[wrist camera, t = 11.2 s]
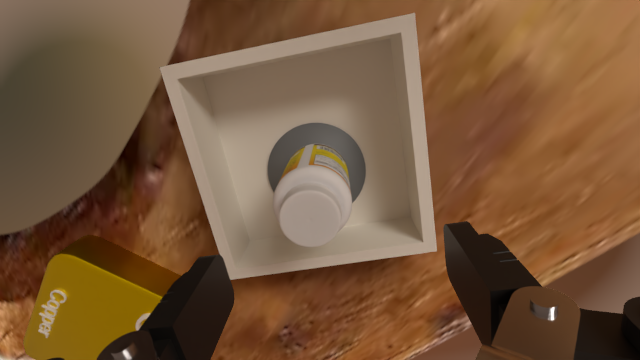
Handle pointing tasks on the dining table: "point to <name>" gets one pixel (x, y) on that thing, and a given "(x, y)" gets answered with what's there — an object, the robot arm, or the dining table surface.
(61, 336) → the element tile
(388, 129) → the box
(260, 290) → the dining table surface
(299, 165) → the supplement bottle
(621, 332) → the robot arm
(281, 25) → the dining table surface
